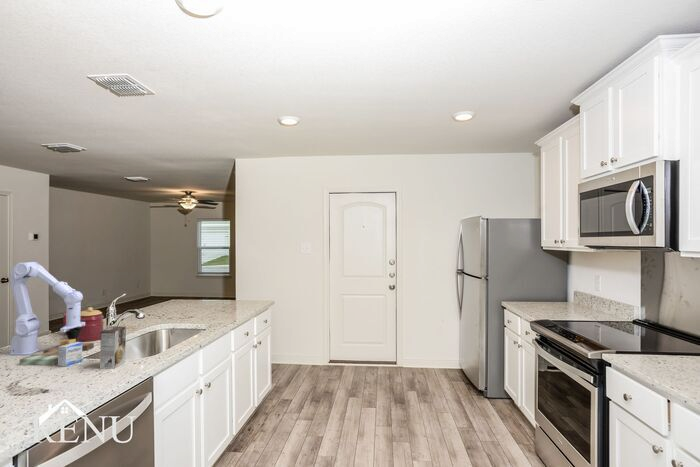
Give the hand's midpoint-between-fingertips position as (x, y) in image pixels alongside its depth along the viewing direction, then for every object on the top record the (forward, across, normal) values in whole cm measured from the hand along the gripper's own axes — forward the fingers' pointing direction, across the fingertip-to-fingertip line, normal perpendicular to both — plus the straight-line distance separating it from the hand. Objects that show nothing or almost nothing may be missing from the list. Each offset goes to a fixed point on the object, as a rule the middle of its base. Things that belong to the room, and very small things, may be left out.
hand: (72, 343), depth 184 cm
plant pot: (+4, +34, +22) cm, 41 cm away
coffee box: (+4, -22, -33) cm, 40 cm away
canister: (+4, +21, +6) cm, 22 cm away
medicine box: (+4, -20, -13) cm, 24 cm away
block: (+1, -4, 0) cm, 4 cm away
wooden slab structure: (+3, -9, 0) cm, 9 cm away
